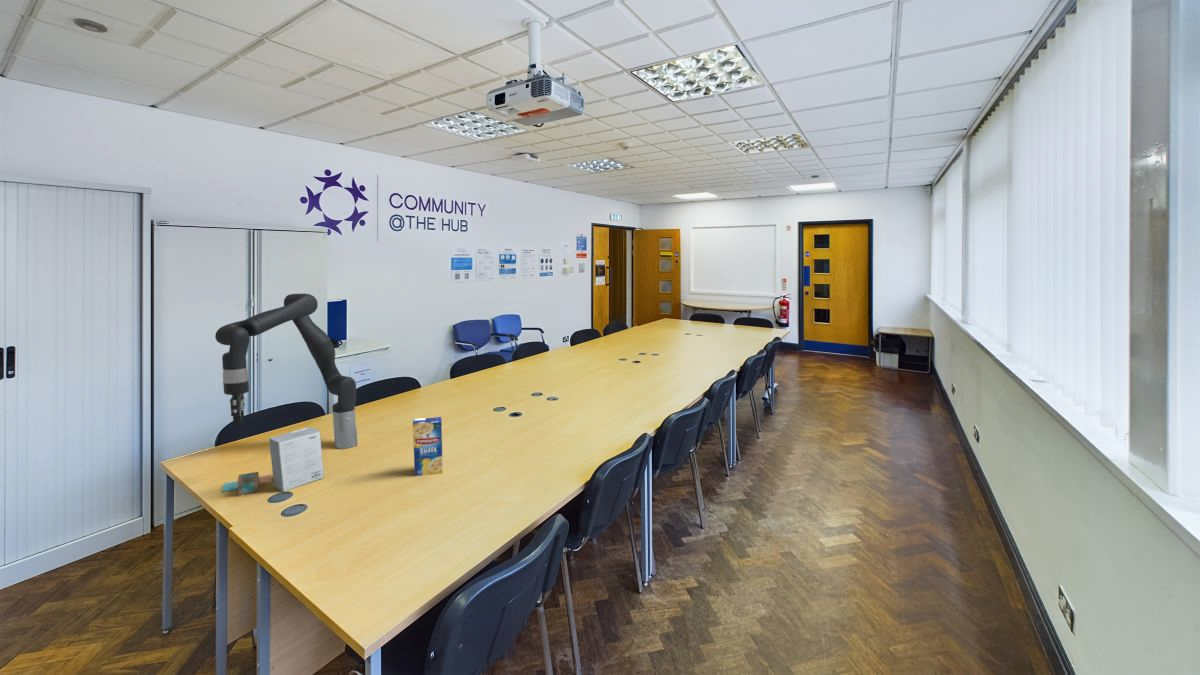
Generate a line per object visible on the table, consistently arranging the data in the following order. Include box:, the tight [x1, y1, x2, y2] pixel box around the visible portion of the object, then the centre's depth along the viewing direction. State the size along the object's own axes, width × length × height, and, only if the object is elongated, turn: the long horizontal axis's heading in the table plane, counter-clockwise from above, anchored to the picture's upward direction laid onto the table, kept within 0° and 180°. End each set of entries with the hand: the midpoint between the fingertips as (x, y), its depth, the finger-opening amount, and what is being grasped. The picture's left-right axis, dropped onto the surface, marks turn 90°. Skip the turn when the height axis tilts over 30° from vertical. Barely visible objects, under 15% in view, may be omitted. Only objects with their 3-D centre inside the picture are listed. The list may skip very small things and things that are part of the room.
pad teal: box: [221, 480, 238, 493], centre depth 188 cm, size 7×7×1 cm
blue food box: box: [412, 416, 444, 477], centre depth 203 cm, size 7×11×22 cm, turn 107°
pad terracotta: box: [259, 474, 272, 485], centre depth 193 cm, size 7×7×1 cm
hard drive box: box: [268, 426, 325, 492], centre depth 191 cm, size 16×8×20 cm, turn 145°
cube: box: [237, 471, 261, 497], centre depth 184 cm, size 6×6×6 cm
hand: (239, 422), depth 183 cm, fingers open, 8 cm apart
